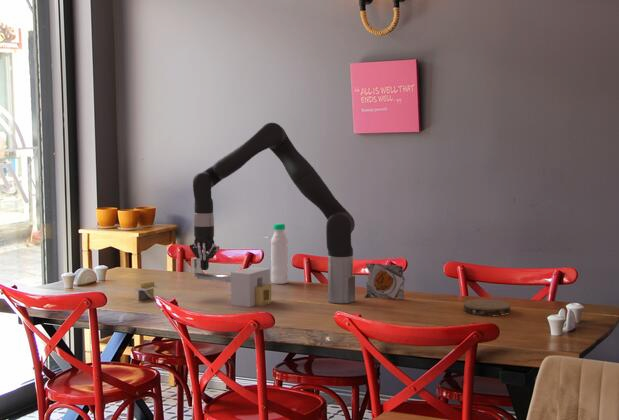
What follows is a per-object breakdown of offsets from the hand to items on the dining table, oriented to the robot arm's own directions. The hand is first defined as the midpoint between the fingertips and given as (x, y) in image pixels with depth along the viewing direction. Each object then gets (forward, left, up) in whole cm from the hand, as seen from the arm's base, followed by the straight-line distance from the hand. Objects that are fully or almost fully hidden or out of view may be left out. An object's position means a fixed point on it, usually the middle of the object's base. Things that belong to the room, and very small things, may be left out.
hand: (204, 269), depth 310 cm
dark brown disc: (-102, -27, -11) cm, 106 cm away
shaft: (-9, 0, -4) cm, 9 cm away
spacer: (-26, 0, -11) cm, 29 cm away
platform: (+17, +13, -11) cm, 24 cm away
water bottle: (-9, -40, -11) cm, 42 cm away
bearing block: (-21, 0, -11) cm, 24 cm away
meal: (-61, -31, -11) cm, 69 cm away
